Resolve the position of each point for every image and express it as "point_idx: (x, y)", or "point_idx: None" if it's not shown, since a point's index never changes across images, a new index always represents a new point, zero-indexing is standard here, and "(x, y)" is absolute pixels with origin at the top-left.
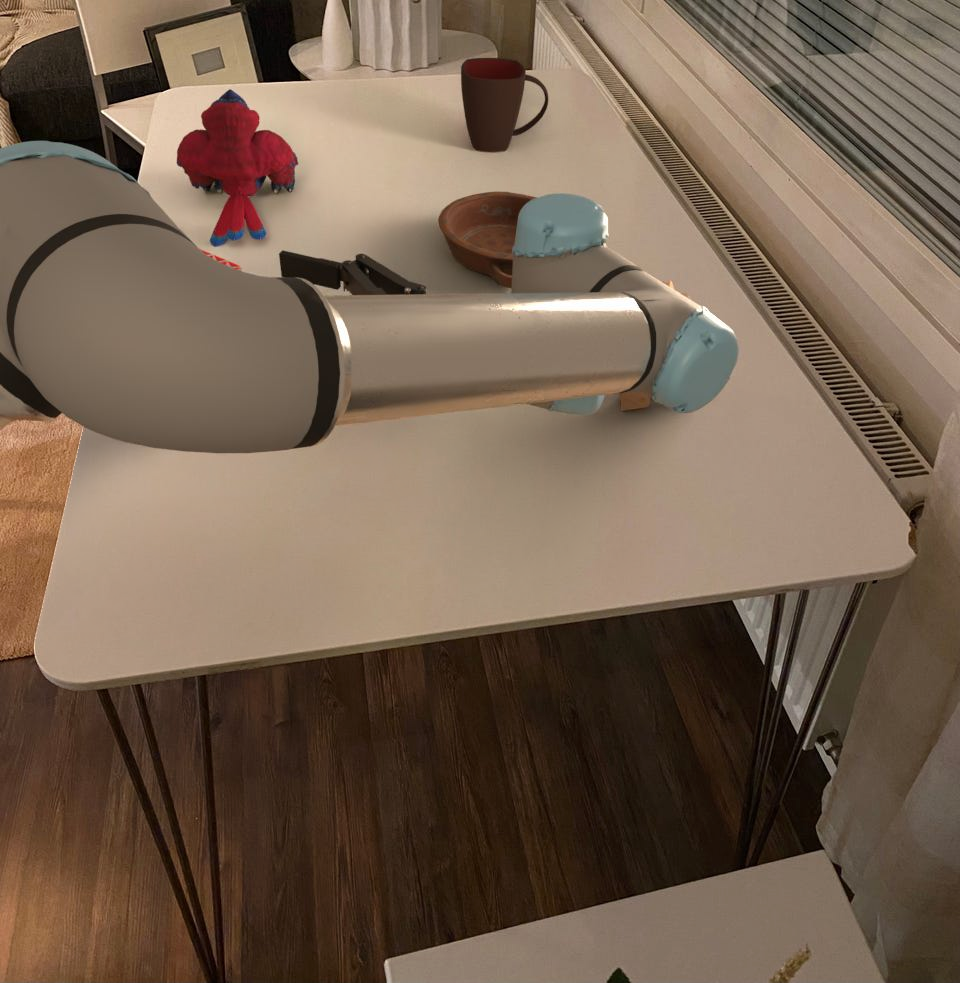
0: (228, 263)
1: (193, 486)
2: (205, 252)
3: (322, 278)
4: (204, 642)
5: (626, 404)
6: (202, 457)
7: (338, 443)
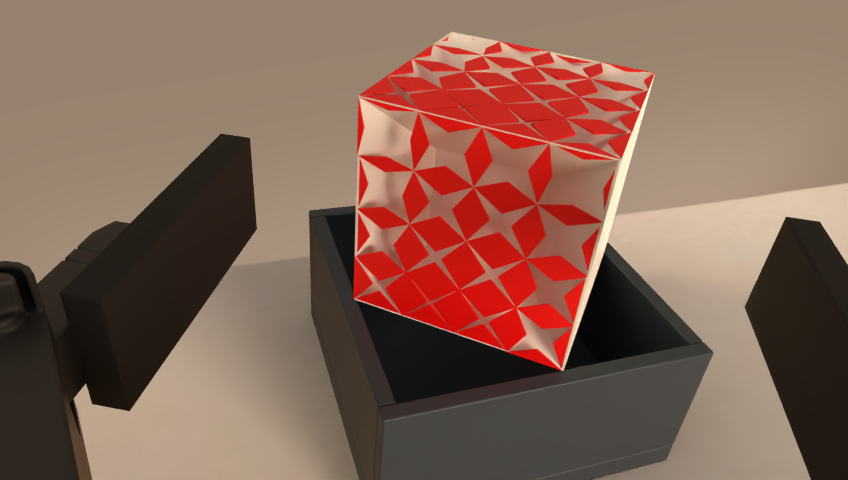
0: (620, 138)
1: None
2: (640, 98)
3: (825, 431)
4: None
5: None
6: (172, 451)
7: None
